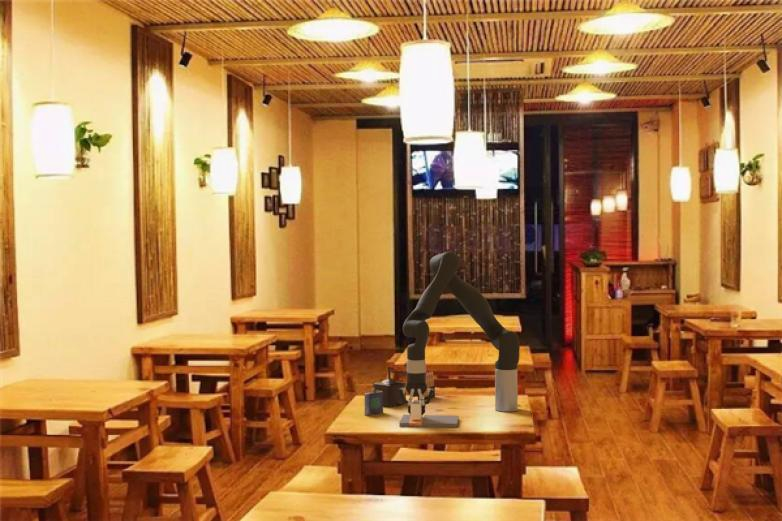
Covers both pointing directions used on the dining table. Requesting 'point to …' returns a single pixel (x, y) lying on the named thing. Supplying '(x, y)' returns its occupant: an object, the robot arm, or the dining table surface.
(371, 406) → the flask
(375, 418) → the dining table surface
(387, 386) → the black coffee grinder
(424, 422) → the board
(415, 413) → the block
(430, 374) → the ammunition clip
